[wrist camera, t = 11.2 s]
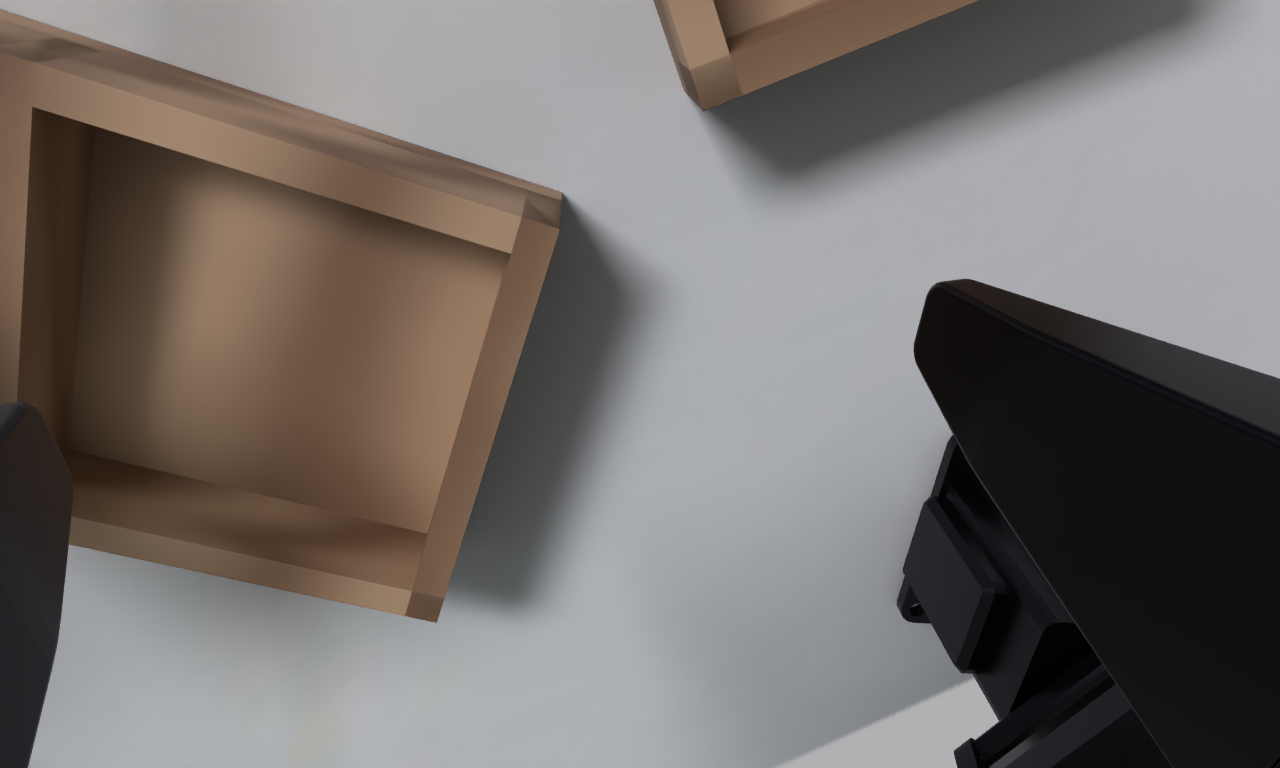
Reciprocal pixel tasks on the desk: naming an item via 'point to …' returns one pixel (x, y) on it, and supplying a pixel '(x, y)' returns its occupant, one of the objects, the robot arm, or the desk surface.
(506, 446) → the desk surface
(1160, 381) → the robot arm
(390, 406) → the brown shallow tray
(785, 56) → the wooden divided tray
